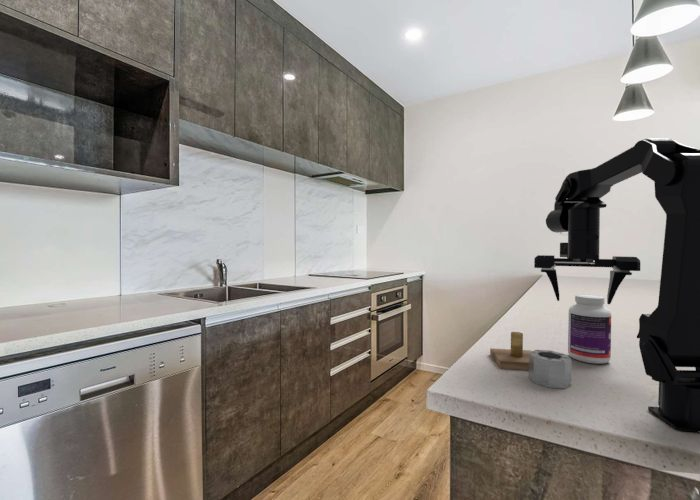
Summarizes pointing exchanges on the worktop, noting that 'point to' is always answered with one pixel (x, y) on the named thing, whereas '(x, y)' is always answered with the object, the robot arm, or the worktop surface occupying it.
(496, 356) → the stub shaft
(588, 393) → the worktop surface
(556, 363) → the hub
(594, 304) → the pill bottle
